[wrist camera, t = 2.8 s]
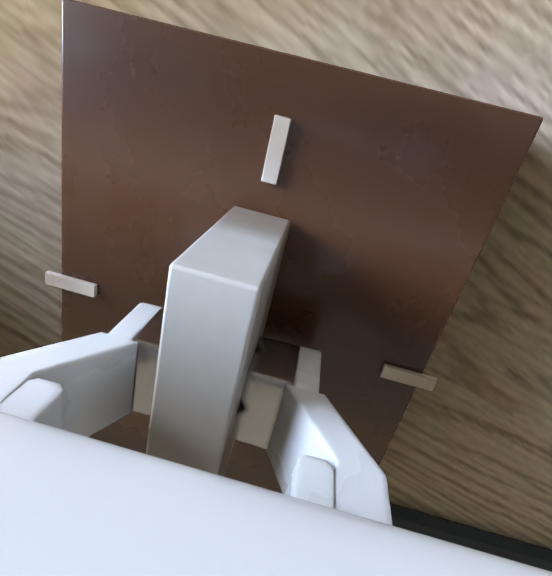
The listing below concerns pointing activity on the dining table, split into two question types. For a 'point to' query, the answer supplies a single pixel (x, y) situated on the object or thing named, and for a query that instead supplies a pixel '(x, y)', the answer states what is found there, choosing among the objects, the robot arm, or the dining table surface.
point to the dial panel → (276, 200)
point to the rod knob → (212, 336)
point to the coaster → (471, 537)
